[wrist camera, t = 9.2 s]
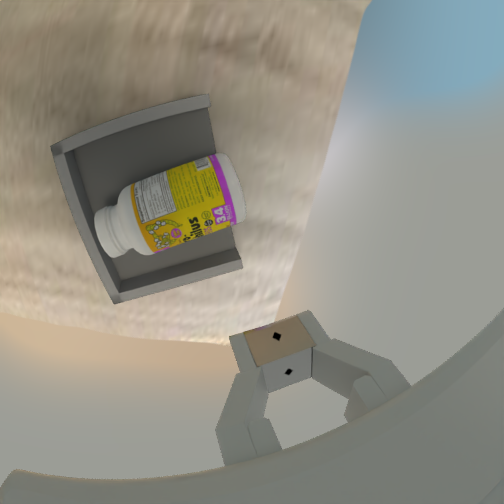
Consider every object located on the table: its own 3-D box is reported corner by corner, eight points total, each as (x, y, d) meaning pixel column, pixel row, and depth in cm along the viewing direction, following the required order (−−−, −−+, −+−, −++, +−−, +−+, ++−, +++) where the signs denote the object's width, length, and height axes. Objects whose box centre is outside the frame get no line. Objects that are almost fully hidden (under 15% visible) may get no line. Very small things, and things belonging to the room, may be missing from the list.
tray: (117, 288, 30) (114, 304, 27) (61, 142, 20) (50, 146, 18) (236, 254, 32) (243, 268, 30) (204, 96, 23) (208, 93, 20)
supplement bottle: (246, 226, 27) (127, 269, 26) (224, 168, 28) (112, 210, 26) (252, 209, 21) (99, 266, 19) (224, 137, 21) (83, 192, 20)
